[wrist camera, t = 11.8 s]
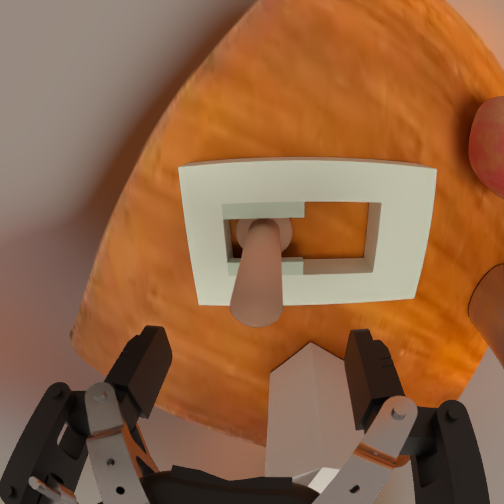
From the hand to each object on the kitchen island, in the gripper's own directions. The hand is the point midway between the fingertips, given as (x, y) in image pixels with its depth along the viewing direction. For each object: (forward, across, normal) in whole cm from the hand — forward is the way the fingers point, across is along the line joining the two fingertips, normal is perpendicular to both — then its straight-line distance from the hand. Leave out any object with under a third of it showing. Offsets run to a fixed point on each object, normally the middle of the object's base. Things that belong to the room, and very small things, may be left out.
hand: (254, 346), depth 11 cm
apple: (+14, -22, -9) cm, 28 cm away
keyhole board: (+14, -4, 0) cm, 14 cm away
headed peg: (+14, 0, 0) cm, 14 cm away
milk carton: (+14, -5, +18) cm, 23 cm away
